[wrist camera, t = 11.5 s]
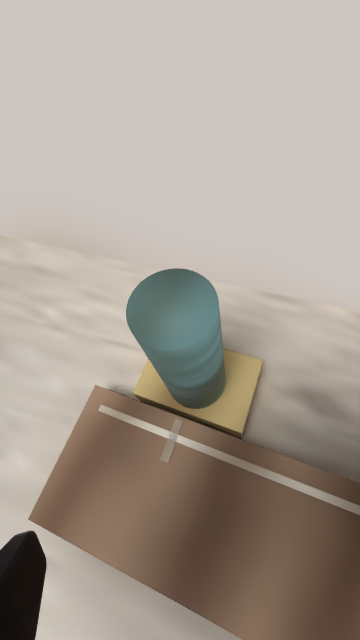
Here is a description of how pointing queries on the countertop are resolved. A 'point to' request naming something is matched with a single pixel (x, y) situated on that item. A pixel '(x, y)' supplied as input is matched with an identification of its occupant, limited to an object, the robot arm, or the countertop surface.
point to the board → (210, 521)
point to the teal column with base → (189, 352)
